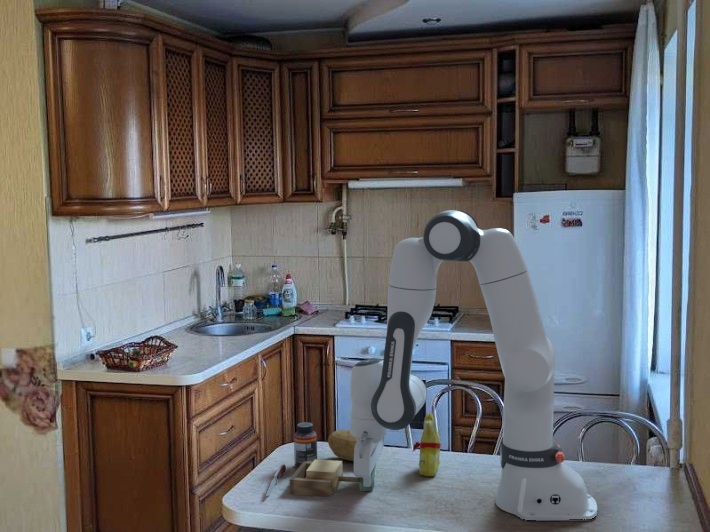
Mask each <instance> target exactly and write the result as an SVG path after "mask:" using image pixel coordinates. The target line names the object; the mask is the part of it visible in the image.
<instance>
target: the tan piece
mask: <svg viewBox="0 0 710 532" xmlns="http://www.w3.org/2000/svg"><path fill="white" fill-rule="evenodd" d="M311 464H312V461H304V462H303V463H302V464H301V466H300V467H299V468H298V469H297V468H296V471H295V472H294V473H293V475H292V476H291V477H290V479H289V495H299V496H300V495H301V496H315V497H328V498H331V497H332V496H333V493H332V480H325V479H309V478H306V470H307V469H308V468H309V466H310V465H311ZM342 476H344V464H343V462H342Z"/></svg>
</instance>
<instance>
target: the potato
mask: <svg viewBox="0 0 710 532" xmlns="http://www.w3.org/2000/svg"><path fill="white" fill-rule="evenodd" d="M327 443H328V447H329V449H330V450H331V451H332V453H333V454H334V455H335V456H336V457H337V458H340V459H342V460H346V461H350V462H354V449H355V444H356V443H357V441H356V437H354V436H352V435H351V433H350V429H338V430H335V431H333V432H332V433H330V434H329V436H328V438H327Z"/></svg>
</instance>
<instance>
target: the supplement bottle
mask: <svg viewBox="0 0 710 532" xmlns="http://www.w3.org/2000/svg"><path fill="white" fill-rule="evenodd" d="M313 428H314V424H313V423H311V422H309V421H308V422H305V421H304V422H299V423H298V424H297V426H296V432H294V434H293V447H294V449H293V450H294V451H293V454H294V456H293V458H294V467H295V468H296V470H297V469H298V468H299V467H300V466H301V464H302V463H303V462H304V461H312V462H313V461H314V460H315V459H316V460H318V438H317V437H318V435H317V432H316V431H315V430H314V429H313Z"/></svg>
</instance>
